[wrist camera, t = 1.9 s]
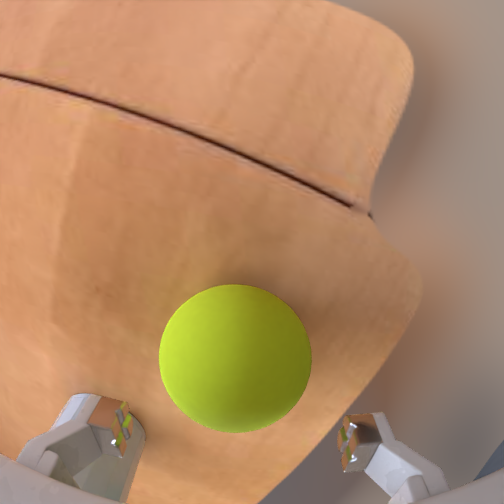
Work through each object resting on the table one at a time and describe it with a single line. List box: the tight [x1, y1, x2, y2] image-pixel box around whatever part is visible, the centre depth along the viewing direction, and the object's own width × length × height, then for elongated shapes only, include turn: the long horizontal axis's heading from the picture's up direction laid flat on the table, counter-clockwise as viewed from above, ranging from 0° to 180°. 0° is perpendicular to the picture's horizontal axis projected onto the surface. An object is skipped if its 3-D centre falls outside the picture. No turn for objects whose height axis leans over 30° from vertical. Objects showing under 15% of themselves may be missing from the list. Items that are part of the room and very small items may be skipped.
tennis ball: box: [159, 284, 312, 433], centre depth 13 cm, size 7×7×7 cm
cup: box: [50, 393, 146, 503], centre depth 15 cm, size 7×7×9 cm
